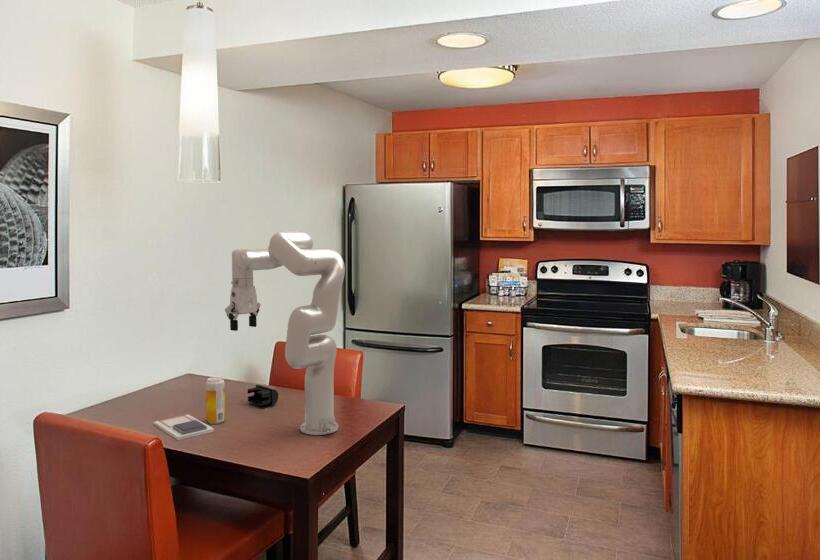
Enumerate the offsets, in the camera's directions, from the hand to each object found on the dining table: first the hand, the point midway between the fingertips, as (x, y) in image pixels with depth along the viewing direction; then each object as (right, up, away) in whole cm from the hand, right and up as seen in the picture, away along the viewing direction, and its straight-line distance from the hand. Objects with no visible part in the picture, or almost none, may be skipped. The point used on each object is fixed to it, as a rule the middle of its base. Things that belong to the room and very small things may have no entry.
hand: (243, 328), depth 228 cm
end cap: (+7, -29, +2) cm, 30 cm away
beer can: (-5, -31, -18) cm, 36 cm away
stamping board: (-13, -31, -24) cm, 42 cm away
